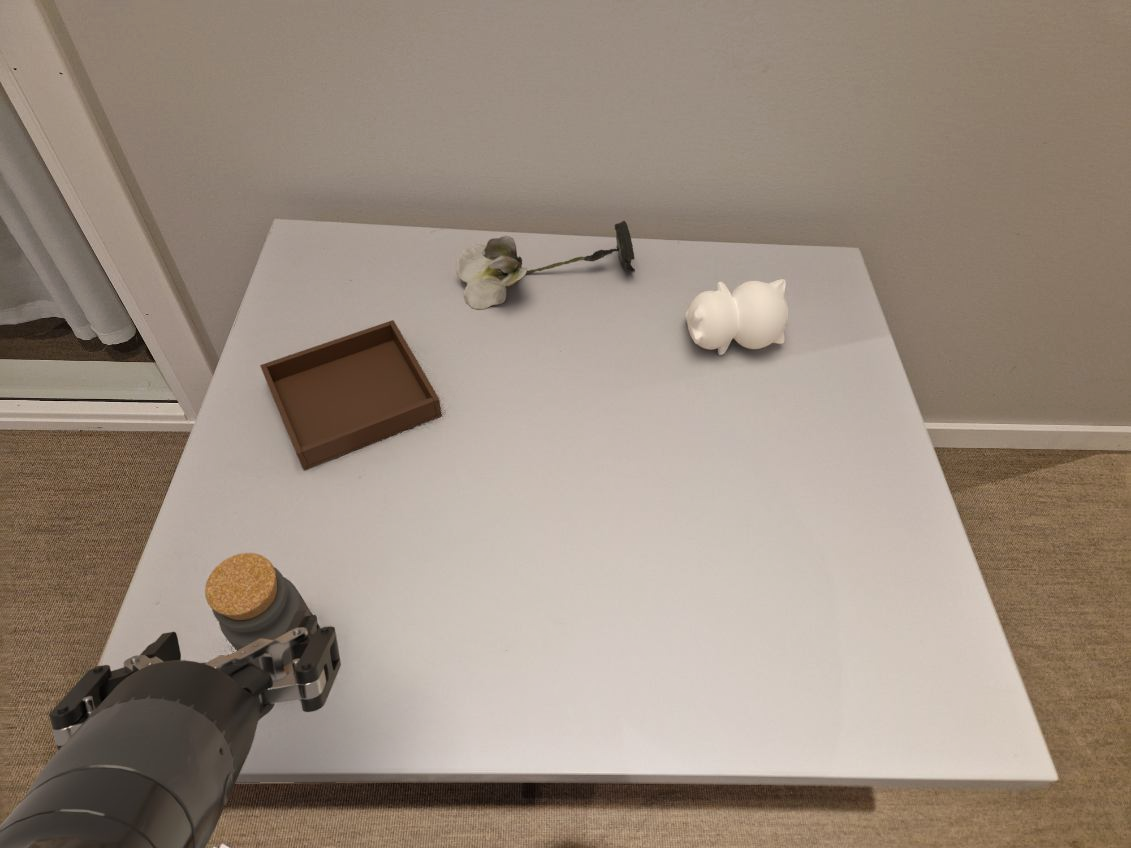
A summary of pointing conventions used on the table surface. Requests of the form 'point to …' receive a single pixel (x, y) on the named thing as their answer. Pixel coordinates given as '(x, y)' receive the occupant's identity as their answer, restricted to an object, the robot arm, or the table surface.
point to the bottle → (252, 600)
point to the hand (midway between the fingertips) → (239, 634)
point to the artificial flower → (516, 266)
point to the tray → (350, 393)
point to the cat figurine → (739, 316)
